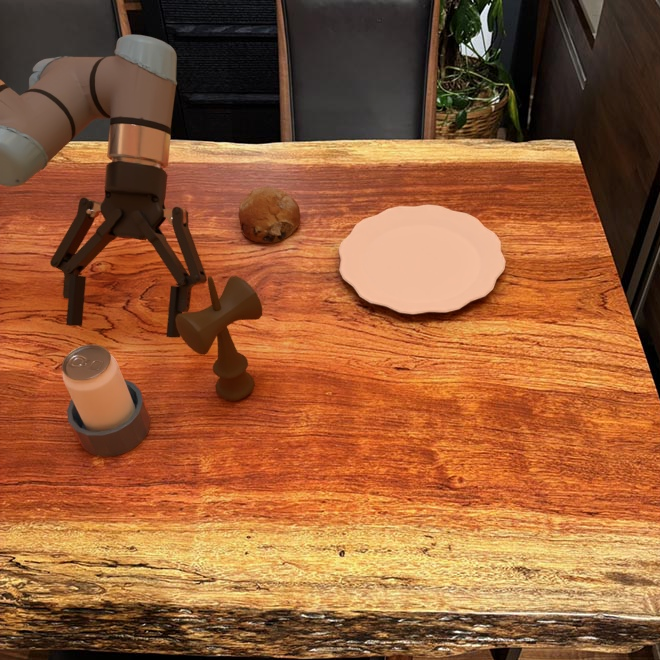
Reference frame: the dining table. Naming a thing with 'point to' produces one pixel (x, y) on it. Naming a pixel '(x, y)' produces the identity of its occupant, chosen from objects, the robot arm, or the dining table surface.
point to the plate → (421, 259)
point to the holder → (116, 438)
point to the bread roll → (268, 215)
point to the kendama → (223, 334)
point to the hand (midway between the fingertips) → (123, 331)
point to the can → (97, 388)
